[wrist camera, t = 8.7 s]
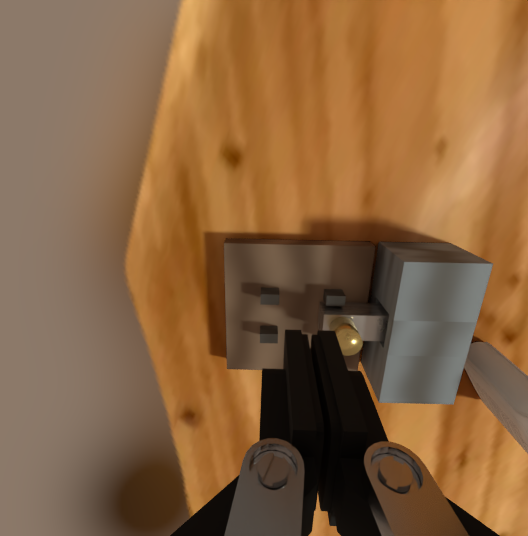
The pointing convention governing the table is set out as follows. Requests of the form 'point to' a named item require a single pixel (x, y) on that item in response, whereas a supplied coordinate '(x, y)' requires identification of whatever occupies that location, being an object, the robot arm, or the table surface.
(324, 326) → the bolt
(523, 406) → the photo printer
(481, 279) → the frame
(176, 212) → the table surface
